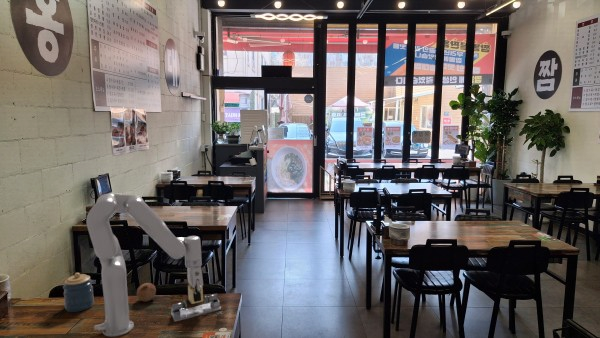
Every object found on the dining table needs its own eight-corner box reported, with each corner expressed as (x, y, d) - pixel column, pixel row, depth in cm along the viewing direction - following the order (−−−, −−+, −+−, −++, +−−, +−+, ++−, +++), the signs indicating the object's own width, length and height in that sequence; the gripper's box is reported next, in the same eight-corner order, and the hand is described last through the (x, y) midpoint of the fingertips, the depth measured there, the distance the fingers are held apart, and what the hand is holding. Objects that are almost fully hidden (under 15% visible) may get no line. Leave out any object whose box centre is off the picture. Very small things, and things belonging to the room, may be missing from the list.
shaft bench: (174, 321, 180) (174, 307, 179) (170, 314, 187) (170, 300, 186) (220, 309, 191) (220, 295, 190) (215, 303, 198) (214, 289, 197)
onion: (147, 308, 200) (143, 295, 194) (134, 300, 203) (130, 288, 198) (161, 295, 207) (158, 283, 201) (148, 288, 210) (145, 275, 205)
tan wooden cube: (203, 301, 187) (202, 287, 186) (191, 304, 185) (190, 290, 184) (199, 296, 192) (199, 283, 191) (188, 299, 189) (187, 285, 188)
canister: (99, 300, 203) (96, 267, 201) (85, 312, 191) (82, 277, 188) (74, 300, 204) (71, 268, 202) (59, 312, 191) (55, 278, 189)
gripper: (206, 266, 181) (209, 303, 183) (196, 255, 195) (198, 290, 197) (190, 269, 177) (193, 307, 179) (180, 258, 191) (183, 294, 194)
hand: (195, 298), depth 188 cm, fingers closed on tan wooden cube, 5 cm apart
